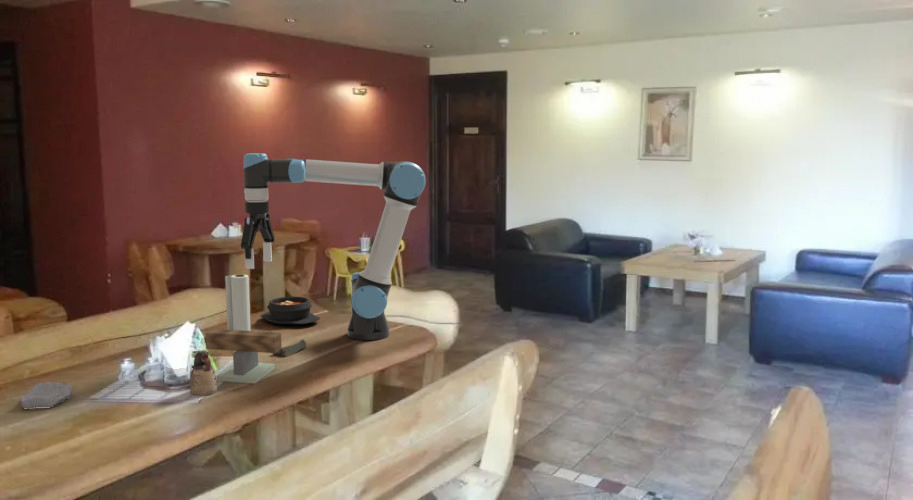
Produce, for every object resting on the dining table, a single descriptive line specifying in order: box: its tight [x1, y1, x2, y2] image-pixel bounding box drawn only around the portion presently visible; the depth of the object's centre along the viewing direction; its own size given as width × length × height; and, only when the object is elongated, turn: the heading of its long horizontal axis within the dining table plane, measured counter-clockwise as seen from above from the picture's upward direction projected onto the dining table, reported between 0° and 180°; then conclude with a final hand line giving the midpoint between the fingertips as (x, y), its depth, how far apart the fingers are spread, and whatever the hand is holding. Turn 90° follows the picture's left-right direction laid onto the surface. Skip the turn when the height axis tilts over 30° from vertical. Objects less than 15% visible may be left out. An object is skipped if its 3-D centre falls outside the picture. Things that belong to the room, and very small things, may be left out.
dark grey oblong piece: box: [272, 338, 307, 358], centre depth 246 cm, size 13×5×4 cm, turn 139°
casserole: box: [260, 296, 321, 326], centre depth 285 cm, size 25×19×8 cm
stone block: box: [20, 381, 73, 409], centre depth 200 cm, size 12×5×10 cm
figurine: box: [189, 349, 218, 396], centre depth 208 cm, size 7×7×12 cm
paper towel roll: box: [224, 273, 252, 331], centre depth 267 cm, size 7×6×21 cm
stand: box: [215, 351, 276, 384], centre depth 223 cm, size 12×14×8 cm
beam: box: [204, 328, 283, 354], centre depth 222 cm, size 22×4×5 cm, turn 80°
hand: (259, 265), depth 245 cm, fingers open, 13 cm apart
